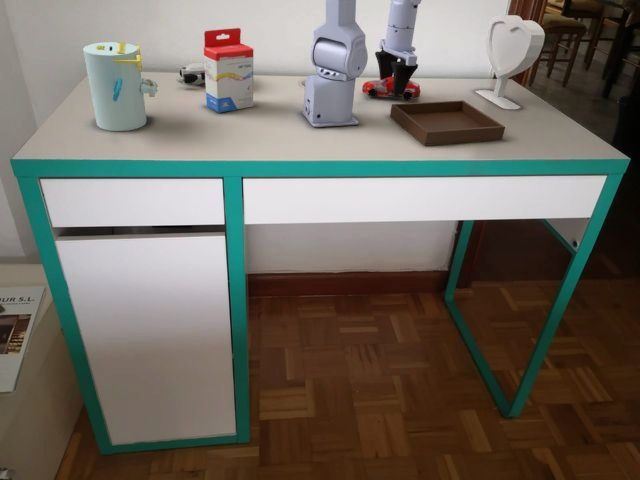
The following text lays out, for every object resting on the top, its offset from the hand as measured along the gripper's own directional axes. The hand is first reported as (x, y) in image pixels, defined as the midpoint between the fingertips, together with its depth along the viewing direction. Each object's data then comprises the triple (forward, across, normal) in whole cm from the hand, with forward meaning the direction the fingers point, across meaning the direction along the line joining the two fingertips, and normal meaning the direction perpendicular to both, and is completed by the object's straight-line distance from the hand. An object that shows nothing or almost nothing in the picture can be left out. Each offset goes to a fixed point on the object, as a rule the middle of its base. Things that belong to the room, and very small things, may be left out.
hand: (391, 89), depth 117 cm
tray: (+2, -19, -3) cm, 19 cm away
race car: (+2, 0, 0) cm, 2 cm away
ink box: (+2, -1, +37) cm, 37 cm away
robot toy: (+2, +14, +38) cm, 40 cm away
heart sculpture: (+2, -5, -26) cm, 26 cm away
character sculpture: (+2, -6, +57) cm, 57 cm away
